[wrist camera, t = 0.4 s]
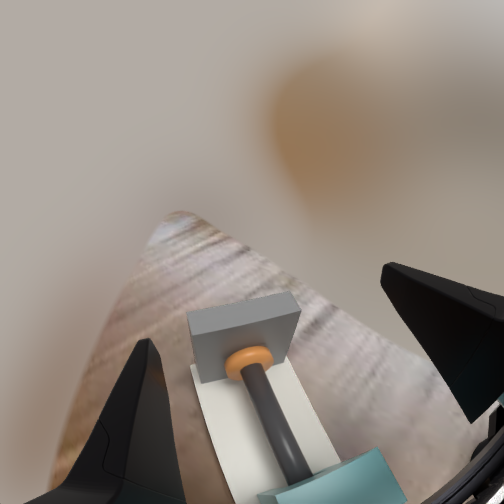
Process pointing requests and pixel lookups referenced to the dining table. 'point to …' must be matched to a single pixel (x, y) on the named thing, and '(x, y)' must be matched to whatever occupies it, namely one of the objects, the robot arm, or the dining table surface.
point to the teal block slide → (256, 396)
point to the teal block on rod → (343, 484)
